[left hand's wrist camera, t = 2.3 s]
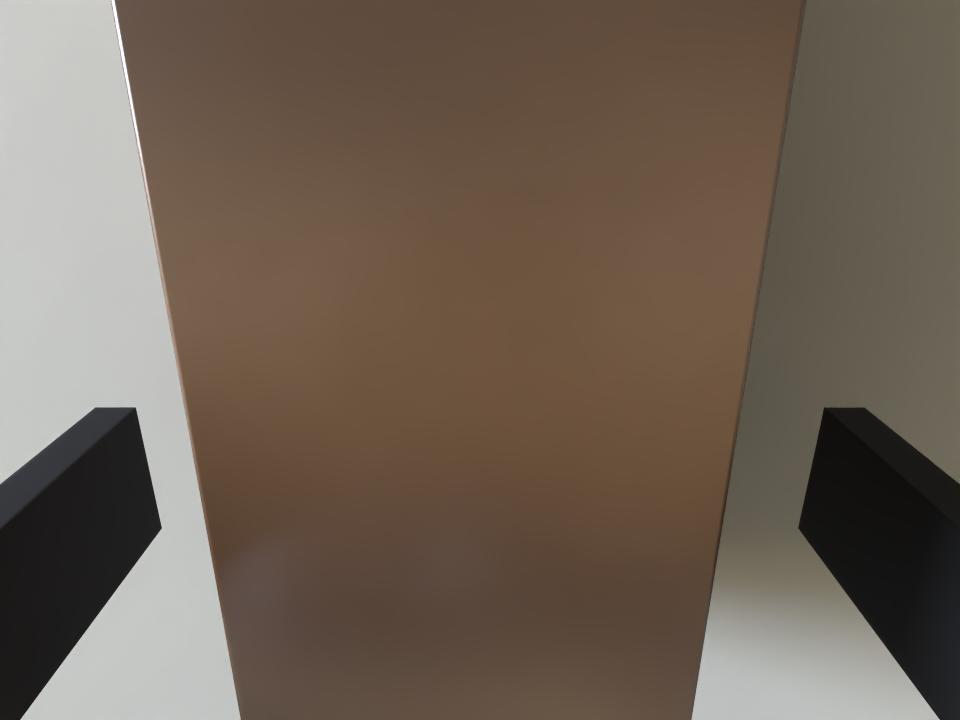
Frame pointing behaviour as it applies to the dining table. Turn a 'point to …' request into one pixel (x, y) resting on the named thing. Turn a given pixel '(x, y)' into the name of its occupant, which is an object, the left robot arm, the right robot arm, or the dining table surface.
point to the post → (462, 334)
